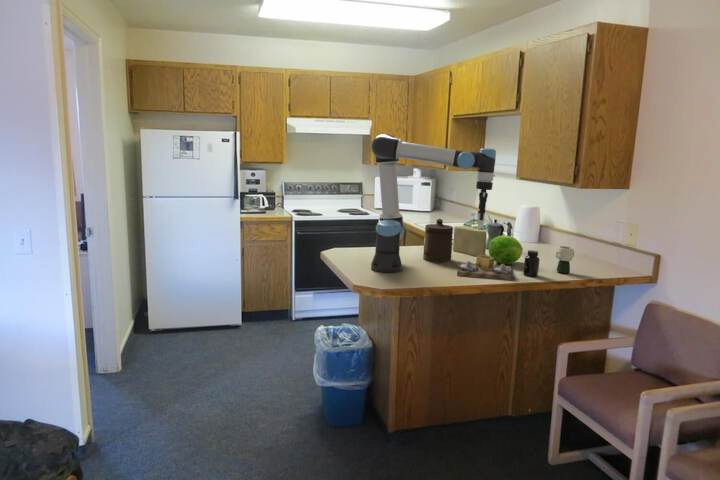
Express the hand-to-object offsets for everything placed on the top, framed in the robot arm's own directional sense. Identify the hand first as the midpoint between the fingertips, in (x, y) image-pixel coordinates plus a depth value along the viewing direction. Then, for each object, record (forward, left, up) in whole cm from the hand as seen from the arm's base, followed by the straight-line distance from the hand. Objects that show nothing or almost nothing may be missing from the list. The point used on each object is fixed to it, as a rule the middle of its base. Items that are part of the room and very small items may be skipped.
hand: (480, 224), depth 251 cm
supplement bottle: (+26, -1, -23) cm, 35 cm away
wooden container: (-20, +17, -23) cm, 35 cm away
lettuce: (+16, +21, -23) cm, 35 cm away
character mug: (+43, +10, -23) cm, 50 cm away
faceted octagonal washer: (+4, -1, -21) cm, 21 cm away
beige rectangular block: (-2, +38, -23) cm, 44 cm away
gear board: (+4, -4, -23) cm, 24 cm away
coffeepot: (+12, +56, -23) cm, 62 cm away
